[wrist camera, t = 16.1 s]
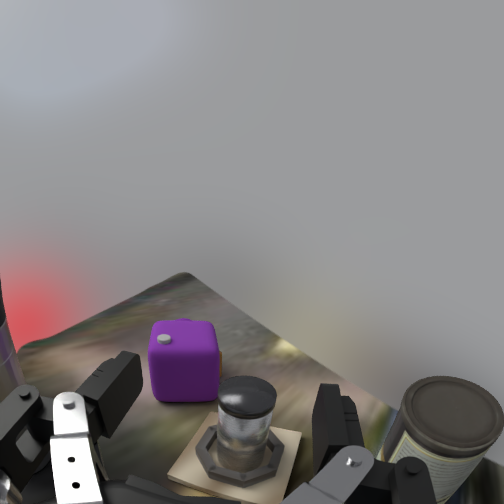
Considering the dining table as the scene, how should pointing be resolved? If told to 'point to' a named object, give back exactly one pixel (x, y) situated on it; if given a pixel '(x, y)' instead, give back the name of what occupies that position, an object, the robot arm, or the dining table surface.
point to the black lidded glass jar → (243, 422)
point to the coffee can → (444, 430)
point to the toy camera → (184, 361)
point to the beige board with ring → (231, 482)
